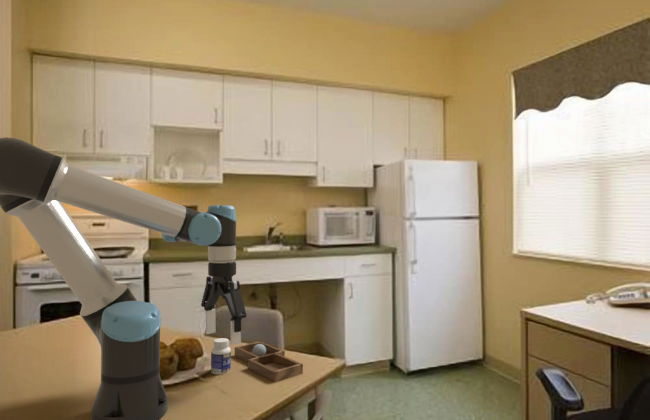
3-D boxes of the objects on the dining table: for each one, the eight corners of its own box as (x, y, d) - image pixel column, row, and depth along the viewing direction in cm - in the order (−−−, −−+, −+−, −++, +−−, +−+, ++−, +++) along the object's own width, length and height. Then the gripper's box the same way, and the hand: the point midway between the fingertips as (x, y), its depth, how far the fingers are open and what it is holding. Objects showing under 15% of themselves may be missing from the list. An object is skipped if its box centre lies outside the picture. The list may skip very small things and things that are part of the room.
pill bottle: (225, 376, 116) (226, 343, 116) (207, 375, 117) (207, 342, 117) (233, 369, 122) (234, 338, 122) (216, 368, 123) (216, 336, 123)
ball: (257, 360, 128) (257, 347, 128) (249, 357, 131) (250, 343, 131) (268, 357, 130) (268, 344, 130) (261, 354, 133) (261, 341, 133)
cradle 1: (258, 368, 123) (258, 357, 123) (234, 357, 132) (234, 347, 132) (284, 361, 129) (284, 351, 129) (259, 350, 138) (259, 341, 138)
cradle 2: (275, 383, 112) (275, 372, 112) (247, 370, 121) (248, 359, 121) (302, 375, 118) (302, 364, 118) (274, 362, 127) (274, 352, 127)
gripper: (259, 264, 113) (259, 345, 113) (212, 256, 131) (212, 326, 131) (234, 266, 108) (234, 352, 108) (188, 258, 126) (189, 331, 126)
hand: (222, 338), depth 120 cm, fingers open, 13 cm apart
